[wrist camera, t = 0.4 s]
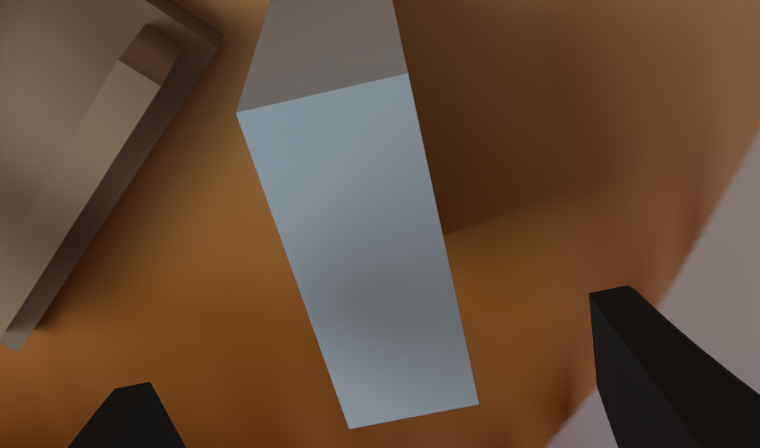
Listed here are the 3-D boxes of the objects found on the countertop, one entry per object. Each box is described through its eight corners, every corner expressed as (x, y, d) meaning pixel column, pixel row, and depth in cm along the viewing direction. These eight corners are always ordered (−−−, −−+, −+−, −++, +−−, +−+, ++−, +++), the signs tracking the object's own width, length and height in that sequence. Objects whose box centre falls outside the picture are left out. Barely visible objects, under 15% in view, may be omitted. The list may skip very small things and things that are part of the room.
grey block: (442, 235, 22) (478, 404, 16) (347, 255, 23) (349, 429, 17) (386, -27, 18) (408, 73, 12) (270, 1, 18) (236, 113, 12)
